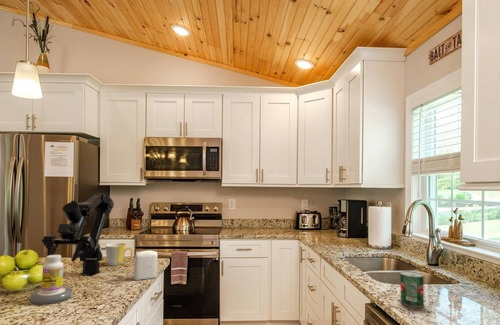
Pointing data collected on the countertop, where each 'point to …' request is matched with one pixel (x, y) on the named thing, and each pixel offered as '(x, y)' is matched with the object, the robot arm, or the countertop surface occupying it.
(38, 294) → the charcoal trivet
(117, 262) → the mug
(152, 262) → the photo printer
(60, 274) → the supplement bottle
